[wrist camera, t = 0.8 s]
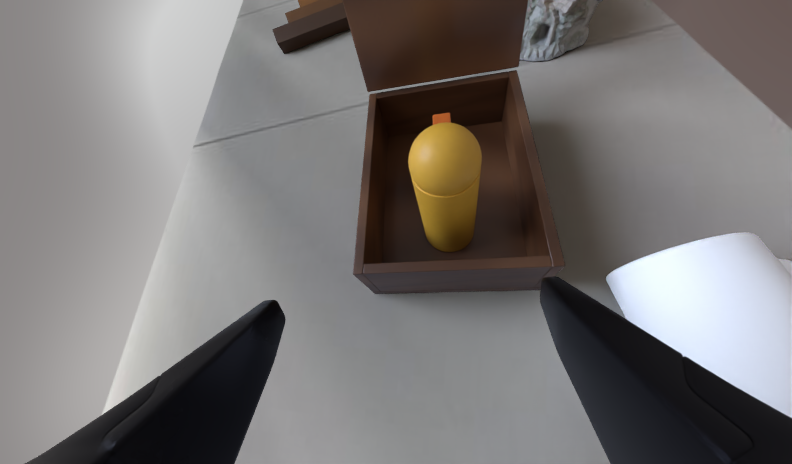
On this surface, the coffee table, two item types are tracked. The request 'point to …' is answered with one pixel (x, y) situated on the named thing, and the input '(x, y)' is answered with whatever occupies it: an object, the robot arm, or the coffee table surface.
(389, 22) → the chest lid
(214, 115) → the coffee table surface
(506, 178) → the chest
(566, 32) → the ceramic cottage
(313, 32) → the pan flute
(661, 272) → the mug
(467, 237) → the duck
